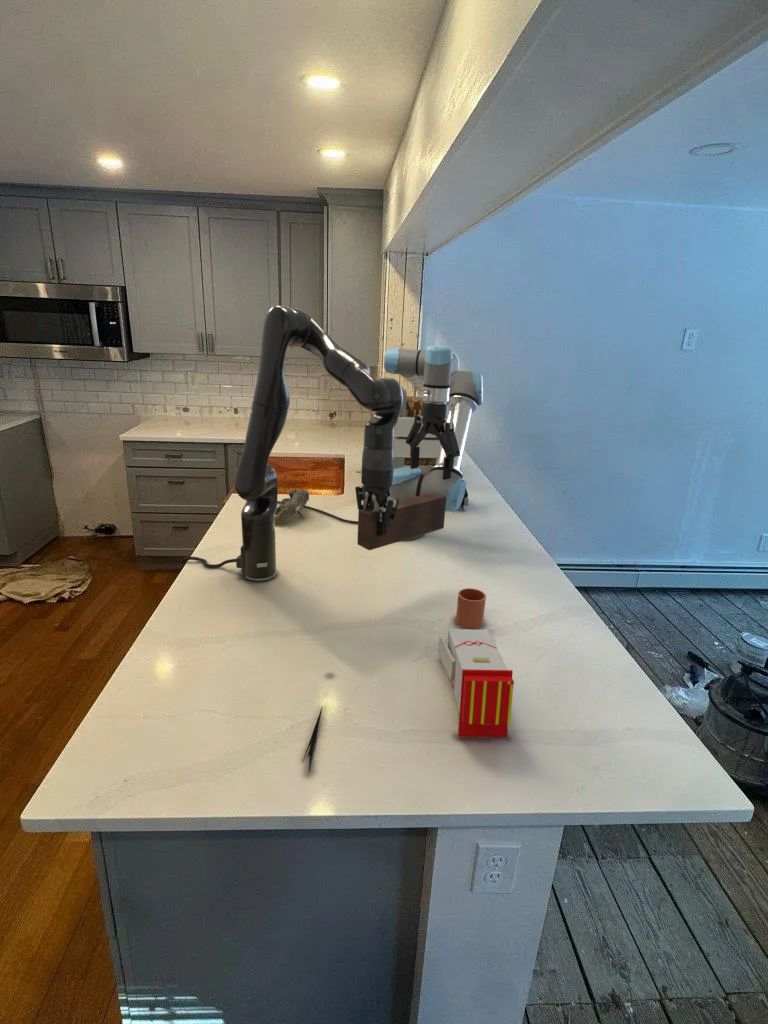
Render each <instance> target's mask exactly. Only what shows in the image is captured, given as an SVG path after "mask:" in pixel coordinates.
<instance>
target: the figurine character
mask: <svg viewBox="0 0 768 1024" xmlns="http://www.w3.org/2000/svg"><path fill="white" fill-rule="evenodd" d="M469 502H470V501H469V492H468V490H467V488H466V489H465V494H464V497H463V500H462V503H461V505H460V507H459V508H461V510H462V511H464V510H465V507H468V506H469Z"/></svg>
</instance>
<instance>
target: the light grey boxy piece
mask: <svg viewBox="0 0 768 1024" xmlns="http://www.w3.org/2000/svg"><path fill="white" fill-rule="evenodd" d="M401 388H402V393H403V401H402V406H401V410H400V414H399V417H398V421H397V424H396V426H395V431H394V469H396V468H401V467H405V466H406V467H411V457H410V449H411V447H410V445H409V444H406V439H407V437H408V435H409V433H410V430H411V428H412V426H413V424H414V419H415V416H417V415H422V403H423V402H424V400H423V396H415V395H414V396H413V395H412V396H411V395H407V394H408V393H407V390H406V389H404V388H403V387H402V386H401ZM445 419H446V418H445ZM422 426H423V423H422V425H421V427H422ZM420 429H421V428H420ZM419 431H420V430H419ZM418 433H419V432H418ZM441 433H442V432H441ZM439 446H440V441H439V439H438V438H437V437H436V435H432V434H427V435H426V436H425V437H424V438H423V440H422V441H421V442H420V443H419V446H417V447H420V452H419V467H434V466H435V465H436V460H437V456H438V451H439ZM460 471H461V472H462V465H461V466H460Z"/></svg>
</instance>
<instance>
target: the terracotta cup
mask: <svg viewBox="0 0 768 1024" xmlns="http://www.w3.org/2000/svg"><path fill="white" fill-rule="evenodd" d="M486 600H487V595H486V593H485V592H483V590H480V589H476V588H472V587H470V588H469V587H467V588H462V589H460V590H459V591H458V593H457V601H456V602H457V604H456V614H455V623H456V624H457V626H458V627H460V628H461V629H469V630H479V629H481V627H482V626H483V624H484V618H485V608H486Z"/></svg>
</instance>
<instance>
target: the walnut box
mask: <svg viewBox="0 0 768 1024" xmlns="http://www.w3.org/2000/svg"><path fill="white" fill-rule="evenodd" d="M379 508H380V509H382V508H384V506H383V507H379ZM445 508H446V496H443V495H441V494H438V493H435V492H433V493H428V494H424V495H420V496H416V497H411V498H407V499H403V500H399V504H398V507H397V511H396V514H395V518H394V520H393V521H389V522H387V533H386V534H385V535H384V536H381V537H379V536H378V535H377V530H378V522H379V521H378V514H377V513H376V512H375V507H370V508H367V509H366V508H365V509H361V510H358V512H357V513H358V517H357V521H358V524H357V543H356V544H357V545H358V546H360V547H362V548H363V549H366V550H368V551H372V550H376V549H379V548H382V547H385V546H389V545H393V544H395V543H399V542H402V541H407V540H406V539H409V538H413V537H416V536H419V535H421V536H422V535H425V534H430V533H432V532H436V531H440V530H443V529H444V528H445V517H446V511H445ZM389 516H390V515H389ZM382 517H384V512H382Z"/></svg>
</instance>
